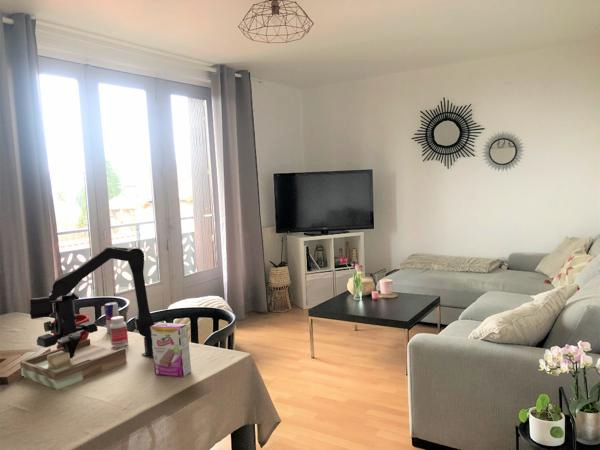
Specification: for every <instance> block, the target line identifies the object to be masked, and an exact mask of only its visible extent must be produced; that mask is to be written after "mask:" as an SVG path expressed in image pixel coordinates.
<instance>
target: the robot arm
mask: <svg viewBox="0 0 600 450" xmlns="http://www.w3.org/2000/svg"><path fill="white" fill-rule="evenodd" d="M111 259H113V260H117V261H118V260H119V261H124V262H127V263H128V266H129V269H130V271H131V274H132V281H133V288H134V294H135V300H136V307H137V315H133V318H134V322H135V324H134V327H135V330H136V332H138V333H139V335H140V336H142V337H143V345H144V352H143V353H141V355H142V356H145V357H148V358H152V359H153V350H152V340H151V330H150V327H151V326H152V325H154V324H155V323H154V319H153V317H152V315H151V311H150V308H149V307H150V306H149V303H148V301H149V300H148V296H147V289H146V281H145V276H144V270H145V269H144V268H145V253H144V251H143V250H142V249H141V248H140V247H138V246H130V247H129V248H128V247H116V246H111V245H108V246H106V247H104V248H103V249H102V250H100V252H98V253H97V254H95V255H94V256H93V257H91V258H90V259H89V260H87V261H85V262H84V263H83V264H82V265H80V266H79V267H77V268H75V269H74V270H72V271H69V272H67V273H64V274H62V275H60V276H58V277H57V278H55V279H54V281H53V283H52V284H53V285H52V290H51V291H50V292H49V294H48V296H41V297H32V298H30V299H29V307H30V310H29V315H30V319H31V320H36V319H42V318H48V317H49V318H50V317H51V315H52V314H54V313H55V315H56V317H54V320H55V322H54V323H52V322H53V321H51V320H49V321H45V322H43V329H44V332H45V333H46V332H47V333H46V334H43V335H39V336H37V338H36V345H37V346H39V347H42V348H50V347H53V346H55V345H56V344H58V343H60V344H61V345H62V346H63V348H64V350H65V351H66V352H67V353H69V354H70V359H71V358H73V356H74V353H75V350H76V348H77V345H78V343H79V341H80V339H82V338H83V336H80V333H81V332H84V331H87V332H89V334H93V333H96V332H98V331H99V330H98V325H97V323H95V322H92V321H89V322H85V323H82V324H79V326H78V327H77V326H76V319H78V317H77V316H76V315H75V314H76V309H75V303H74V302H75V301H78V300H80V295H78V294H76V293H75V291H73V290H74V289H75V288H76V287H77V285H78V284H80V283H81V282H82V280H83V279H85V278H86V277H87V276H89V275H90V274H92V273H93V272H94V271H96V270H97V269H99V268H100V267H101V266H103V265H104V264H105V263H107V262H109V261H110V260H111ZM72 291H73V292H72ZM70 293H71V294H70ZM60 297H61V298H60ZM54 305H55V309H54ZM48 332H50V333H48ZM54 332H55V333H59V334H56V335H53V333H54Z"/></svg>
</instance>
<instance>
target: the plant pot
mask: <svg viewBox="0 0 600 450" xmlns="http://www.w3.org/2000/svg"><path fill="white" fill-rule="evenodd" d="M75 315H76V316H77V317H78V319H76V326H77V327H78V326H79V324H82V323H85V322H90V317H89V316H88V315H87V314H80V313H79V314H77V313H75ZM51 322H52V323H54V322H55V319H54V320H53V321H51ZM56 334H59V333H55V332H54V333H52V335H56ZM89 335H90V333H89V332H87V331H84V332H81V333H80V336H83V338H82V339H80V341H79V342H81V341H84V340H87V339H89V338H88V337H89ZM60 348H63V346H62V345H61V344H60V343H57V345H56V350H57V349H60Z"/></svg>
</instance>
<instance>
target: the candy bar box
mask: <svg viewBox="0 0 600 450" xmlns="http://www.w3.org/2000/svg"><path fill="white" fill-rule="evenodd" d="M150 330H151V340H152V350H153V358H152V360H153V369H154V375H155V376H156V375H157V376H166V377H175V378H176V377H177V378H185V377H186V376H187V375H188V374H190V373H191V372H192V365H191V354H190V343H189V341H190V340H189V333H188V330H189V329H188V324H187V323H176V322H175V323H174V322H161V321H160V322H159V321H158V322H156V323H154V325H152V326H151V327H150Z"/></svg>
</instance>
